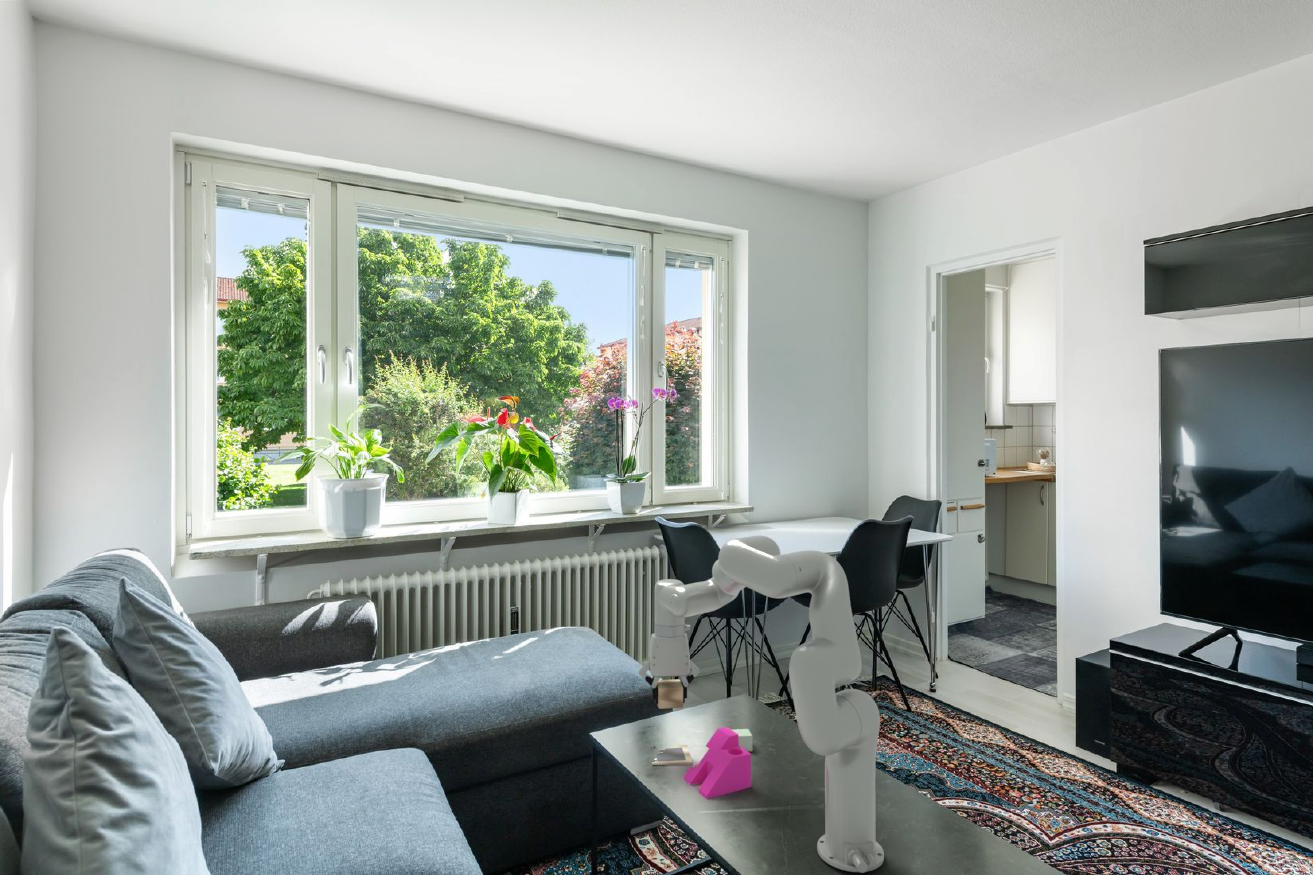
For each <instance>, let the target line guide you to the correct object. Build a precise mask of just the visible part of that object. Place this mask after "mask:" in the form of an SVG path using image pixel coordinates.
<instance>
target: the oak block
mask: <svg viewBox="0 0 1313 875" xmlns="http://www.w3.org/2000/svg"><path fill="white" fill-rule="evenodd" d="M680 679H681V678H680ZM680 679H679V678H678V679H659V681H658V683H657V687H658V704H657V707H658V709H659V710H660V709H680V708H681V709H683V708H684V703H683V686H682V684H681V682H682V681H681V680H680Z"/></svg>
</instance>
